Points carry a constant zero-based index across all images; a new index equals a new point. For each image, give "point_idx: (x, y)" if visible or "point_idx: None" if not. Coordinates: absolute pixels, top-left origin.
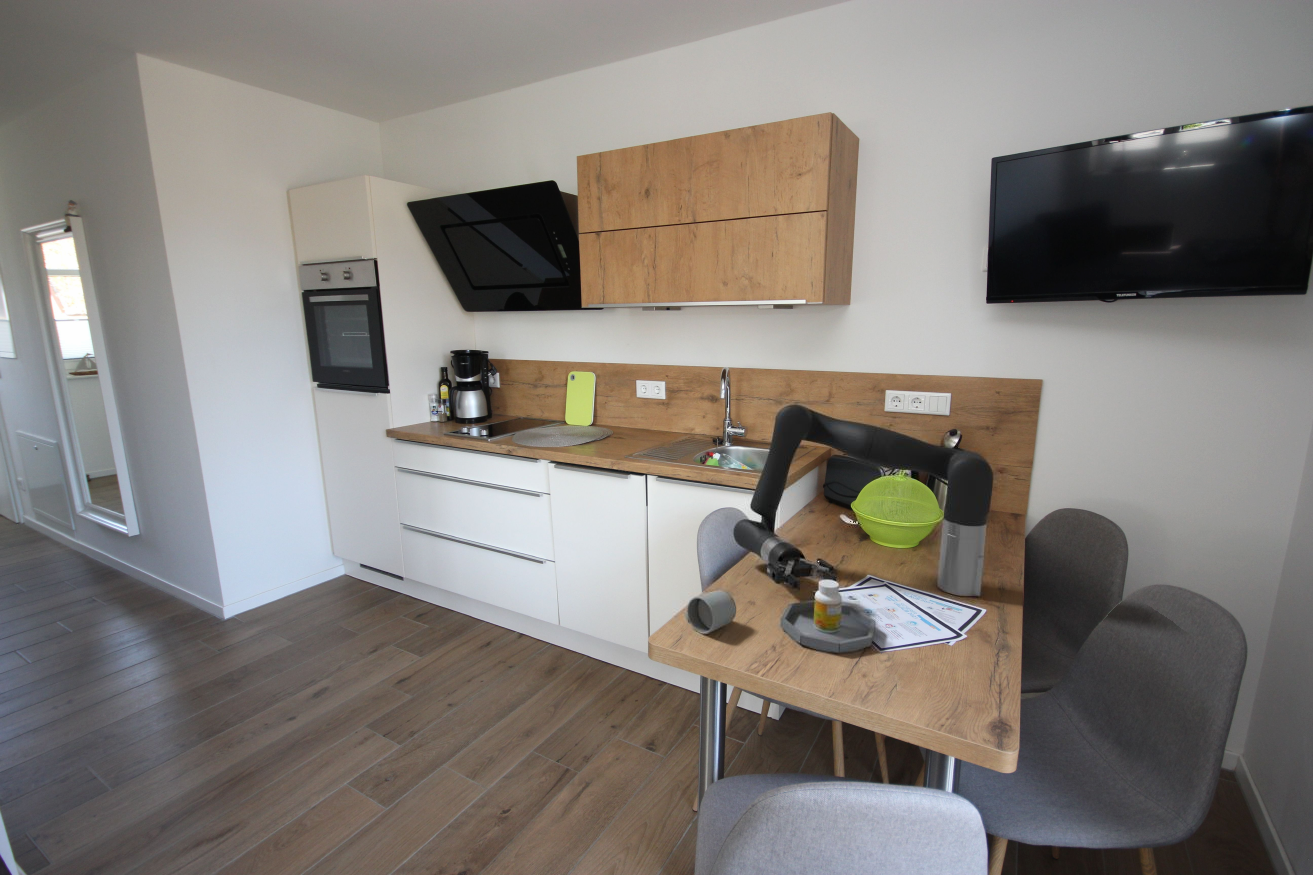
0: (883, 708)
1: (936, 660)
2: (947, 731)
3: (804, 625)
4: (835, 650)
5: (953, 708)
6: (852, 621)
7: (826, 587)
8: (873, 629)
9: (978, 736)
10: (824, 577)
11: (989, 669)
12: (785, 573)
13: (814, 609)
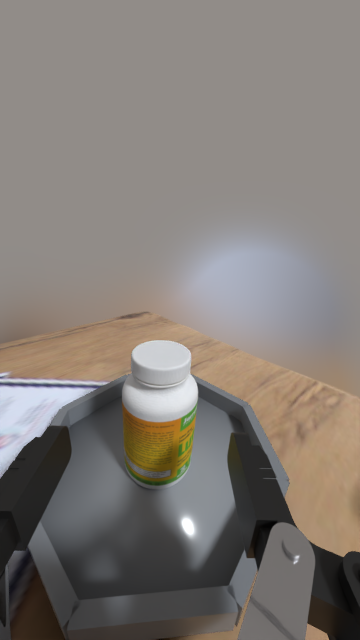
0: (196, 335)
1: (74, 358)
2: (167, 319)
3: (210, 484)
4: None
5: (140, 326)
6: (71, 466)
7: (182, 345)
8: (100, 388)
9: (151, 315)
10: (26, 530)
11: (44, 341)
12: (305, 539)
13: (193, 432)
